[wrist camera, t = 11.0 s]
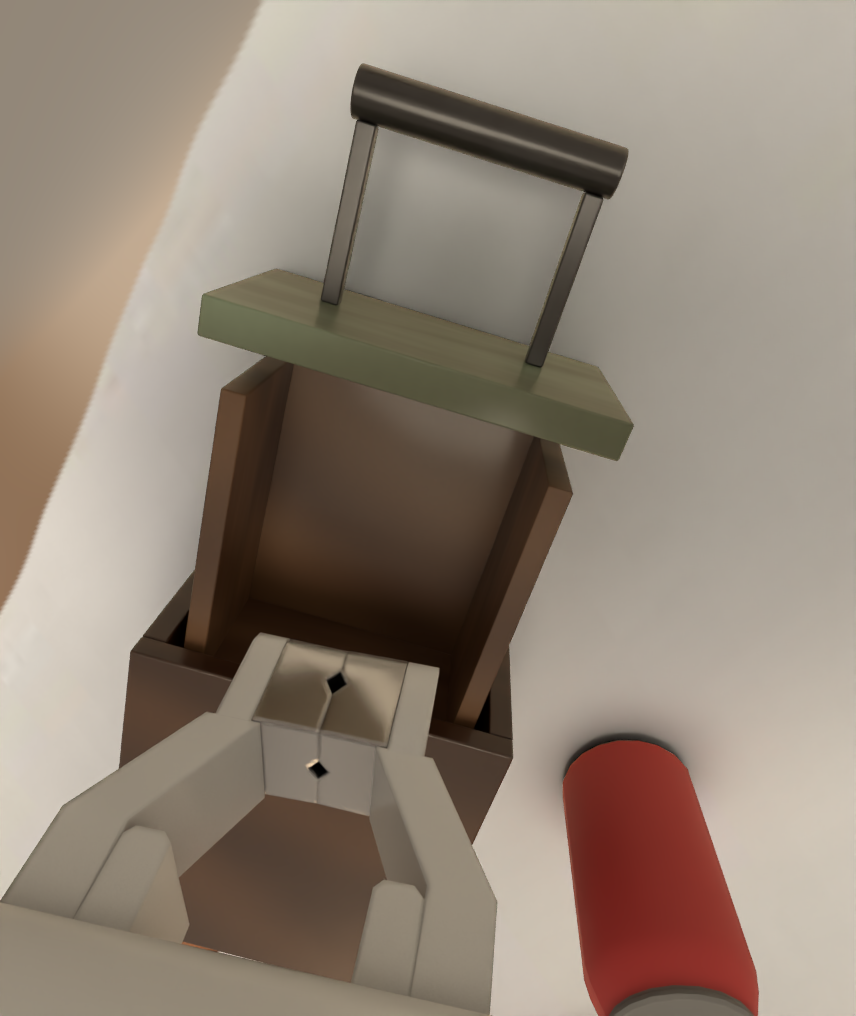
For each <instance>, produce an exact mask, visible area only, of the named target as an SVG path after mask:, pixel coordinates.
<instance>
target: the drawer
mask: <svg viewBox="0 0 856 1016" xmlns="http://www.w3.org/2000/svg"><path fill="white" fill-rule="evenodd" d="M351 116H352V118H353V119H356V120H357V121H356V125H355V130H354V135H353V140H352V145H351V150H350V155H349V160H348V165H347V170H346V175H345V180H344V185H343V190H342V195H341V200H340V205H339V210H338V215H337V220H336V225H335V230H334V235H333V240H332V245H331V250H330V254H329V259H328V264H327V269H326V274H325V279H324V283H322V282H319V281H316V280H312V279H309V278H306V277H303V276H299V275H296V274H293V273H290V272H286V271H283V270H280V269H273V270H270V271H267V272H264V273H262V274H259V275H256V276H253V277H250V278H247V279H244V280H242V281H239V282H236V283H233V284H230V285H227V286H224V287H222V288H219V289H216V290H213V291H210V292H207V293H204V294H203V295H202V301H201V309H200V317H199V325H198V335H199V336H202V337H205V338H208V339H212V340H215V341H218V342H222V343H225V344H228V345H232V346H235V347H238V348H242V349H245V350H248V351H252V352H255V353H258V354H262V355H265V356H266V357H264V358H263V359H262V360H260V361H259V362H258V363H256V364H255V365H253V366H252V367H251V368H249V369H248V370H246V371H245V372H244V373H242V374H241V375H240V376H238V377H237V378H235V379H234V380H233V381H231V382H230V383H229V384H227V385H226V386H224V387H223V388H222V389H221V393H220V400H219V406H218V413H217V420H216V427H215V434H214V441H213V448H212V455H211V462H210V469H209V476H208V483H207V490H206V497H205V504H204V511H203V518H202V525H201V531H200V538H199V545H198V552H197V559H196V566H195V573H194V580H193V587H192V594H191V601H190V608H189V615H188V622H187V629H186V636H185V643H184V648H185V649H189V650H192V651H196V652H199V653H203V654H207V655H210V656H214V657H217V658H221V659H224V660H228V661H232V662H235V663H239V664H241V663H242V661H243V659H244V657H245V655H246V653H247V651H248V649H249V647H250V645H251V643H252V641H253V640H254V638H255V637H256V636H257V635H258V634H259V633H260V632H261V633H266V634H270V635H275V636H280V637H284V638H289V639H295V640H299V641H304V642H308V643H313V644H317V645H322V646H326V647H331V648H335V649H340V650H344V651H354V652H360V653H365V654H371V655H376V656H382V657H387V658H392V659H398V660H403V661H408V664H409V662H411V663H416V664H422V665H427V666H432V667H437V668H439V677H438V683H437V689H436V694H435V700H434V706H433V711H432V718H435V719H439V720H443V721H446V722H450V723H453V724H457V725H460V726H464V727H468V728H471V729H474V727H475V725H476V722H477V720H478V717H479V715H480V713H481V710H482V708H483V706H484V703H485V701H486V698H487V696H488V694H489V691H490V689H491V687H492V684H493V682H494V680H495V677H496V675H497V672H498V670H499V668H500V665H501V663H502V661H503V658H504V656H505V653H506V651H507V649H508V646H509V644H510V642H511V639H512V637H513V635H514V632H515V630H516V627H517V625H518V623H519V620H520V618H521V616H522V613H523V611H524V608H525V606H526V604H527V601H528V599H529V597H530V594H531V592H532V590H533V587H534V585H535V582H536V580H537V578H538V575H539V573H540V571H541V568H542V566H543V563H544V561H545V559H546V556H547V554H548V552H549V549H550V547H551V545H552V542H553V540H554V537H555V535H556V533H557V530H558V528H559V526H560V523H561V521H562V519H563V516H564V514H565V511H566V509H567V507H568V504H569V502H570V500H571V497H572V495H573V492H572V488H571V484H570V480H569V477H568V473H567V469H566V466H565V462H564V458H563V455H562V451H561V447H560V444H561V445H565V446H568V447H571V448H575V449H578V450H581V451H585V452H588V453H591V454H595V455H598V456H601V457H604V458H608V459H611V460H614V461H618V460H619V458H620V456H621V454H622V452H623V449H624V447H625V445H626V443H627V440H628V438H629V436H630V434H631V431H632V429H633V427H634V424H633V423H632V421H631V419H630V418H629V416H628V414H627V413H626V411H625V410H624V408H623V406H622V405H621V403H620V401H619V400H618V398H617V397H616V395H615V393H614V392H613V390H612V388H611V387H610V385H609V384H608V382H607V380H606V379H605V377H604V375H603V374H602V372H601V371H600V369H599V368H598V367H596V366H593V365H590V364H587V363H583V362H580V361H577V360H574V359H570V358H567V357H564V356H560V355H557V354H554V353H551V352H548V351H549V348H550V345H551V343H552V340H553V337H554V334H555V332H556V329H557V326H558V323H559V321H560V318H561V315H562V312H563V310H564V307H565V304H566V301H567V299H568V296H569V293H570V291H571V288H572V285H573V282H574V280H575V277H576V274H577V271H578V269H579V266H580V263H581V260H582V258H583V255H584V252H585V249H586V247H587V244H588V241H589V238H590V236H591V233H592V230H593V227H594V225H595V222H596V219H597V216H598V214H599V211H600V208H601V205H602V203H603V198H605V199H610V198H611V197H612V196H613V194H614V192H615V191H616V189H617V186H618V184H619V182H620V179H621V177H622V174H623V172H624V169H625V166H626V162H627V158H628V149H627V148H625V147H622V146H619V145H616V144H613V143H610V142H606V141H603V140H600V139H597V138H594V137H591V136H588V135H585V134H582V133H578V132H575V131H572V130H569V129H566V128H563V127H560V126H557V125H554V124H551V123H547V122H544V121H541V120H538V119H535V118H532V117H529V116H526V115H523V114H519V113H516V112H513V111H510V110H507V109H504V108H501V107H498V106H495V105H491V104H488V103H485V102H482V101H479V100H476V99H473V98H470V97H467V96H463V95H460V94H457V93H454V92H451V91H448V90H445V89H442V88H439V87H436V86H432V85H429V84H426V83H423V82H420V81H417V80H414V79H411V78H408V77H404V76H401V75H398V74H395V73H392V72H389V71H386V70H383V69H380V68H376V67H373V66H370V65H367V64H364V63H363V64H361V65H360V67H359V69H358V71H357V74H356V77H355V80H354V84H353V89H352V96H351ZM377 126H378V127H382V128H385V129H388V130H391V131H394V132H397V133H400V134H404V135H407V136H410V137H413V138H416V139H419V140H422V141H426V142H429V143H432V144H435V145H438V146H441V147H445V148H448V149H451V150H454V151H457V152H460V153H463V154H467V155H470V156H473V157H476V158H479V159H482V160H485V161H489V162H492V163H495V164H498V165H501V166H504V167H507V168H511V169H514V170H517V171H520V172H523V173H526V174H529V175H533V176H536V177H539V178H542V179H545V180H548V181H551V182H555V183H558V184H561V185H564V186H567V187H570V188H574V189H577V190H580V191H583V192H586V193H583V194H582V196H581V199H580V202H579V205H578V208H577V211H576V214H575V216H574V219H573V222H572V225H571V228H570V231H569V234H568V236H567V239H566V242H565V245H564V248H563V251H562V254H561V256H560V259H559V262H558V265H557V268H556V271H555V274H554V276H553V279H552V282H551V285H550V288H549V291H548V294H547V296H546V299H545V302H544V305H543V308H542V311H541V314H540V316H539V319H538V322H537V325H536V328H535V331H534V334H533V336H532V339H531V342H530V345H529V346H528V345H525V344H521V343H518V342H515V341H511V340H508V339H505V338H502V337H498V336H495V335H492V334H489V333H485V332H482V331H479V330H476V329H472V328H469V327H466V326H463V325H459V324H456V323H453V322H449V321H446V320H443V319H440V318H436V317H433V316H430V315H427V314H423V313H420V312H417V311H414V310H410V309H407V308H404V307H401V306H397V305H394V304H391V303H387V302H384V301H381V300H378V299H374V298H371V297H368V296H365V295H361V294H358V293H355V292H352V291H348V290H345V289H344V288H345V283H346V278H347V274H348V269H349V264H350V260H351V255H352V250H353V246H354V241H355V236H356V232H357V227H358V223H359V218H360V213H361V209H362V204H363V199H364V195H365V190H366V185H367V181H368V176H369V171H370V167H371V162H372V158H373V153H374V148H375V144H376V139H377V134H378V130H379V129H378V127H377Z"/></svg>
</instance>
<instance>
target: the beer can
mask: <svg viewBox="0 0 856 1016" xmlns="http://www.w3.org/2000/svg"><path fill="white" fill-rule="evenodd" d="M563 803H564V812H565V820H566V829H567V838H568V846H569V855H570V863H571V872H572V880H573V889H574V897H575V906H576V914H577V923H578V931H579V940H580V948H581V957H582V966H583V974H584V981H585V984H586V987H587V990H588V993H589V996H590V999H591V1001H592V1003H593V1005H594V1007H595V1010H596V1012H597V1014H598V1016H758V995H759V991H758V983H757V974H756V970H755V967H754V964H753V961H752V958H751V955H750V952H749V949H748V946H747V943H746V940H745V937H744V934H743V931H742V928H741V925H740V922H739V919H738V916H737V914H736V911H735V908H734V905H733V902H732V899H731V896H730V893H729V890H728V887H727V884H726V881H725V878H724V875H723V872H722V869H721V866H720V863H719V861H718V858H717V855H716V852H715V849H714V846H713V843H712V840H711V837H710V834H709V831H708V828H707V825H706V822H705V819H704V816H703V813H702V810H701V807H700V805H699V802H698V799H697V796H696V793H695V790H694V787H693V784H692V781H691V778H690V775H689V772H688V769H687V768H686V767H685V766H684V765H683V764H682V762H681V761H680V760H679V759H678V758H677V757H676V756H675V755H674V754H672V753H670V752H669V751H667V750H665V749H663V748H662V747H660V746H658V745H655V744H651V743H647V742H643V741H639V740H616V741H612V742H608V743H603V744H599V745H597V746H595V747H594V748H592V749H590V750H588V751H586V752H584V753H583V754H581V755H580V756H579V757H578V758H577V759H576V760H575V761H574V762H573V763H572V764H571V765H570V767H569V769H568V771H567V774H566V776H565V778H564V780H563Z"/></svg>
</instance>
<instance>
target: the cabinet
mask: <svg viewBox="0 0 856 1016" xmlns="http://www.w3.org/2000/svg"><path fill="white" fill-rule="evenodd" d="M194 573H195V570H194V571H193V573H192V574H191V575H190V576H189V578H188V579H187V580H186V582H185V583H184V584H183V585H182V587H181V588H180V589H179V590H178V592H177V593H176V594H175V595H174V597H173V598H172V599H171V601H170V602H169V603H168V604H167V606H166V607H165V608H164V609H163V611H162V612H161V613H160V615H159V616H158V617H157V618H156V620H155V621H154V622H153V623H152V625H151V626H150V627H149V629H148V630H147V631H146V632H145V634H144V635H143V637H142V638H141V639H140V640H139V641H138V643H137V644H136V645H135V646H134V648H133V649H132V650H131V652H130V662H129V672H128V682H127V693H126V703H125V713H124V723H123V733H122V743H121V753H120V763H119V768H121V767H123V766H124V765H126V764H127V763H129V762H130V761H132V760H133V759H135V758H136V757H138V756H139V755H141V754H142V753H144V752H146V751H147V750H149V749H150V748H152V747H153V746H155V745H156V744H158V743H159V742H161V741H162V740H164V739H165V738H167V737H169V736H170V735H172V734H173V733H175V732H176V731H178V730H179V729H181V728H182V727H184V726H185V725H187V724H188V723H190V722H192V721H193V720H195V719H196V718H198V717H199V716H201V715H202V714H204V713H205V712H210V713H216V711H217V709H218V707H219V705H220V703H221V702H222V700H223V698H224V696H225V694H226V692H227V690H228V688H229V686H230V684H231V682H232V680H233V678H234V676H235V674H236V672H237V670H238V668H239V666H240V665H241V664H239V663H235V662H232V661H228V660H224V659H221V658H217V657H214V656H210V655H207V654H203V653H199V652H196V651H192V650H189V649H185V648H184V643H185V636H186V629H187V622H188V615H189V608H190V601H191V594H192V587H193V580H194ZM512 739H513V734H512V709H511V683H510V658H509V646H508V649H507V651H506V653H505V656H504V658H503V661H502V663H501V665H500V668H499V670H498V672H497V675H496V677H495V680H494V682H493V684H492V687H491V689H490V691H489V694H488V696H487V698H486V701H485V703H484V706H483V708H482V710H481V713H480V715H479V717H478V720H477V722H476V725H475V727H474V729H471V728H468V727H464V726H460V725H457V724H453V723H450V722H446V721H443V720H439V719H435V718H432V717H431V723H430V728H429V734H428V740H427V746H426V751H425V757H429V758H433V760H434V762H435V764H436V766H437V769H438V771H439V773H440V775H441V778H442V780H443V782H444V784H445V786H446V789H447V791H448V793H449V795H450V798H451V800H452V802H453V804H454V807H455V809H456V811H457V813H458V815H459V818H460V820H461V822H462V824H463V827H464V829H465V831H466V833H467V836H468V838H469V840H470V842H471V844H473V842H474V840H475V838H476V836H477V834H478V831H479V829H480V827H481V825H482V823H483V821H484V819H485V817H486V814H487V812H488V810H489V808H490V806H491V804H492V802H493V800H494V797H495V795H496V793H497V791H498V789H499V787H500V785H501V783H502V781H503V778H504V776H505V774H506V772H507V770H508V768H509V766H510V764H511V761H512V759H513V742H512ZM369 817H370V816H367V815H362V814H358V813H354V812H350V811H346V810H342V809H338V808H333V807H329V806H325V805H321V804H317V803H311V802H306V801H300V800H295V799H289V798H284V797H279V796H273V795H268V794H265V798H264V799H263V800H262V801H261V802H260V803H258V804H257V805H256V806H255V807H254V808H253V809H252V810H251V811H250V812H249V813H248V814H247V815H246V816H244V817H243V818H242V819H241V820H240V821H239V822H238V823H237V824H236V825H235V826H234V827H233V828H232V829H231V830H229V831H228V832H227V833H226V834H225V835H224V836H223V837H222V838H221V839H220V840H219V841H218V842H217V843H215V844H214V845H213V846H212V847H211V848H210V849H209V850H208V851H207V852H206V853H205V854H204V855H203V856H201V857H200V858H199V859H198V860H197V861H196V862H195V863H194V864H193V865H192V866H191V867H190V868H189V869H187V870H186V871H185V872H184V873H183V874H182V875H181V876H180V877H179V881H180V886H181V890H182V894H183V899H184V903H185V907H186V911H187V916H188V920H189V924H190V925H189V927H188V930H187V932H186V934H185V937H184V939H183V942H186V943H190V944H194V945H198V946H201V947H205V948H209V949H213V950H217V951H221V952H225V953H228V954H232V955H236V956H240V957H244V958H248V959H251V960H255V961H259V962H263V963H267V964H271V965H275V966H279V967H284V968H288V969H292V970H297V971H301V972H305V973H310V974H314V975H318V976H323V977H327V978H331V979H336V980H340V981H344V982H349V983H351V980H352V976H353V971H354V967H355V963H356V959H357V954H358V950H359V946H360V941H361V937H362V933H363V929H364V924H365V920H366V916H367V911H368V907H369V903H370V899H371V894H372V890H373V887H374V886H376V885H377V884H379V883H380V882H381V881H383V880H387V878H386V875H385V871H384V868H383V864H382V861H381V857H380V854H379V851H378V847H377V844H376V840H375V837H374V833H373V830H372V827H371V823H370V820H369Z"/></svg>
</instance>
